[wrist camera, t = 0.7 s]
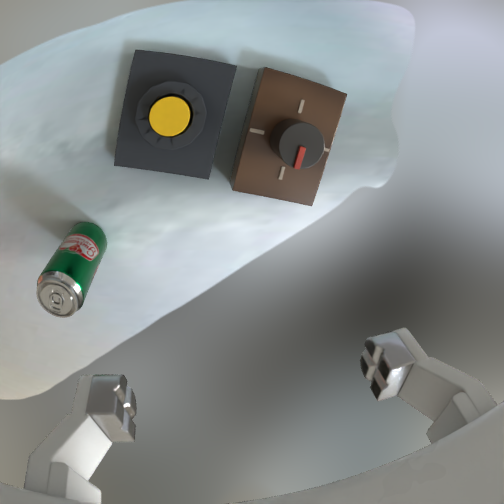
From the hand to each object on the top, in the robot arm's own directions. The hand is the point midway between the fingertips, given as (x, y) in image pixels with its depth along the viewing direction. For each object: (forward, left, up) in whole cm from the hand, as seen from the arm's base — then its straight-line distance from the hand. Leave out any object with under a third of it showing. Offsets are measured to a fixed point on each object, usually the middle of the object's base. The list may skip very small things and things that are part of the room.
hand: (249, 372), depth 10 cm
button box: (-5, -5, -27) cm, 28 cm away
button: (-5, -5, -23) cm, 24 cm away
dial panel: (-5, +7, -27) cm, 28 cm away
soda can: (+11, -13, -27) cm, 32 cm away
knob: (-5, +7, -24) cm, 26 cm away
